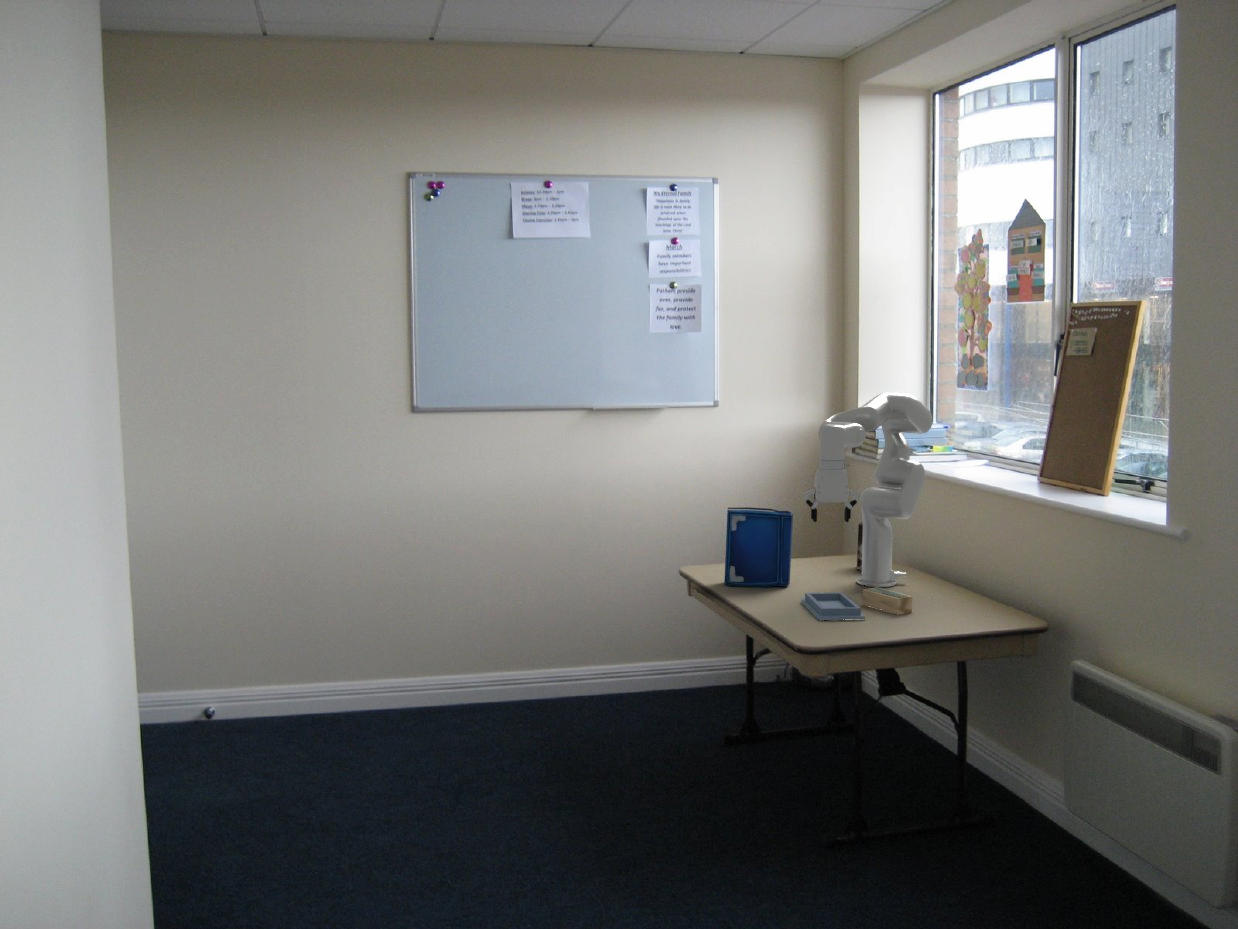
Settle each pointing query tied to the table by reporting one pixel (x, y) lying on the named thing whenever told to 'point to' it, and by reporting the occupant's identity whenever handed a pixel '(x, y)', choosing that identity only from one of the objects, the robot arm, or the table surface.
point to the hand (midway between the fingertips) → (830, 521)
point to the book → (758, 547)
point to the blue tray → (832, 606)
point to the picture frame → (887, 600)
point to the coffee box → (859, 546)
